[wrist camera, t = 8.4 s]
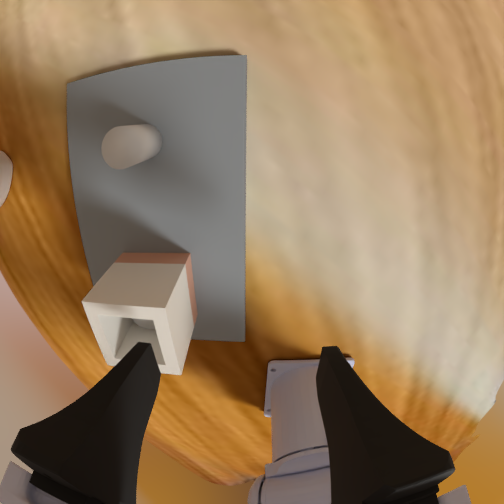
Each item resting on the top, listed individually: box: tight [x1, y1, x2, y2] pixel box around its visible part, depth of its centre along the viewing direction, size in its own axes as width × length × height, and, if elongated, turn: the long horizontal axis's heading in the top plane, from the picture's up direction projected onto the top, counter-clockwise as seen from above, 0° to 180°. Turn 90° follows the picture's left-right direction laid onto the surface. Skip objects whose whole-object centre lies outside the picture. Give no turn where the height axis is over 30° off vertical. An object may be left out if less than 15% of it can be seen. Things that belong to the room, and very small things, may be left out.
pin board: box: [67, 55, 247, 342], centre depth 16 cm, size 20×12×4 cm, turn 179°
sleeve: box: [82, 253, 198, 375], centre depth 17 cm, size 5×5×6 cm
